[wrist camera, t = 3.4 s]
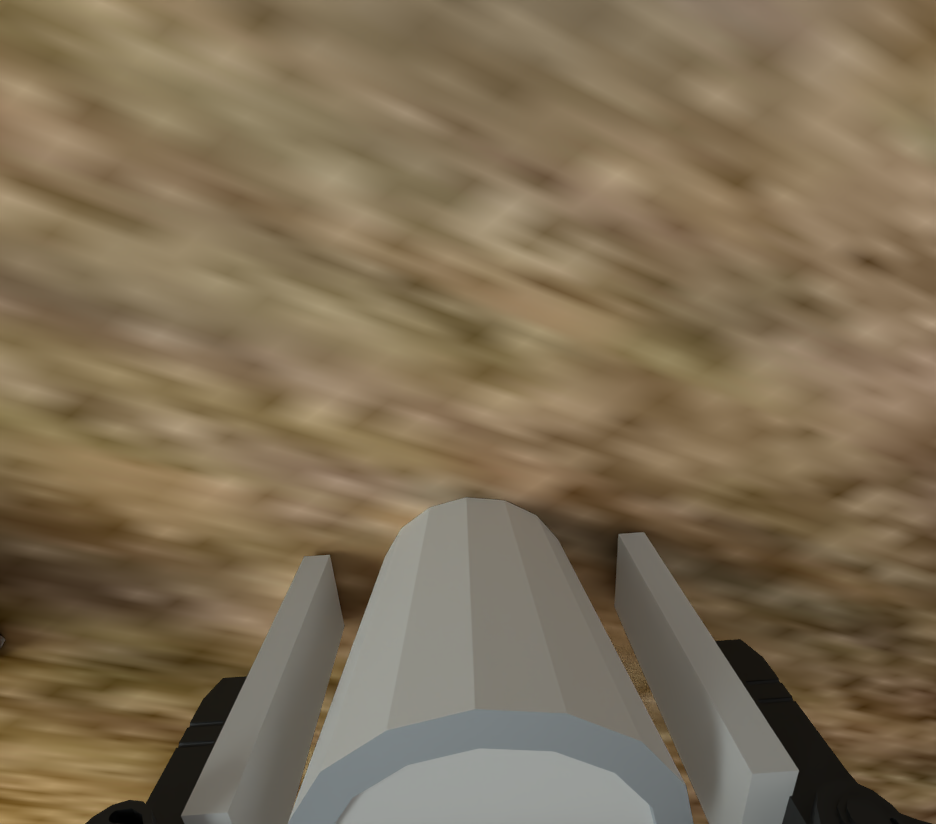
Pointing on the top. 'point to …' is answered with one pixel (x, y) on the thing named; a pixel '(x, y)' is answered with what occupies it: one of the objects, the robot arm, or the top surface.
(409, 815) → the white cup
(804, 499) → the top surface
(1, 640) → the flask
